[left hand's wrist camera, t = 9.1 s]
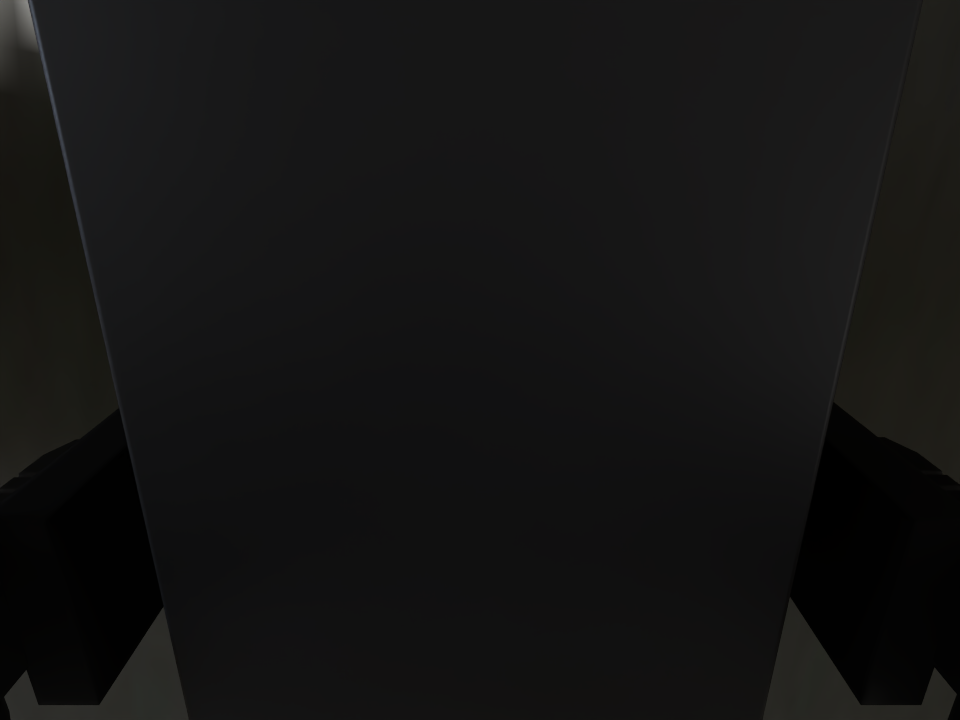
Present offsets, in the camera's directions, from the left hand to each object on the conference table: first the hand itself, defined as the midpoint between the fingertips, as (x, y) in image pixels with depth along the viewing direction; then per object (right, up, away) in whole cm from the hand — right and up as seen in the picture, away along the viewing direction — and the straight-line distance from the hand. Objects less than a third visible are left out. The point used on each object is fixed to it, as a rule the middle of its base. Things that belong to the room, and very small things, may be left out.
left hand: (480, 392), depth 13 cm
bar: (0, +8, -2) cm, 9 cm away
